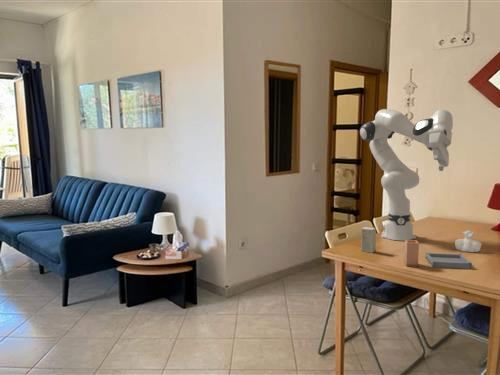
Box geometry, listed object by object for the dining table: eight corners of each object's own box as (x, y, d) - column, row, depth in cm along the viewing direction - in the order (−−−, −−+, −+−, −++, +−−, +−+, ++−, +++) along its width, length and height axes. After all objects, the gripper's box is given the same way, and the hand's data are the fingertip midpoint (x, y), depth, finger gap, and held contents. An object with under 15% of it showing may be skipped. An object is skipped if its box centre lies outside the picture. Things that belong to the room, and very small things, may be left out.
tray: (425, 257, 194) (425, 252, 194) (460, 259, 191) (461, 254, 191) (432, 267, 181) (433, 261, 180) (471, 268, 178) (471, 263, 177)
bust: (480, 256, 203) (481, 236, 208) (481, 250, 197) (482, 229, 202) (454, 253, 209) (455, 233, 214) (453, 247, 203) (455, 227, 208)
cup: (404, 262, 187) (405, 239, 186) (415, 263, 186) (416, 240, 185) (406, 266, 182) (407, 242, 181) (417, 266, 181) (418, 243, 180)
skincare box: (375, 251, 206) (376, 228, 205) (371, 253, 203) (372, 229, 202) (364, 249, 211) (364, 226, 209) (360, 251, 207) (361, 228, 206)
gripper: (439, 152, 197) (436, 176, 191) (428, 128, 183) (424, 153, 178) (453, 151, 193) (451, 175, 187) (442, 126, 179) (440, 151, 174)
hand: (438, 164), depth 182 cm, fingers open, 8 cm apart
